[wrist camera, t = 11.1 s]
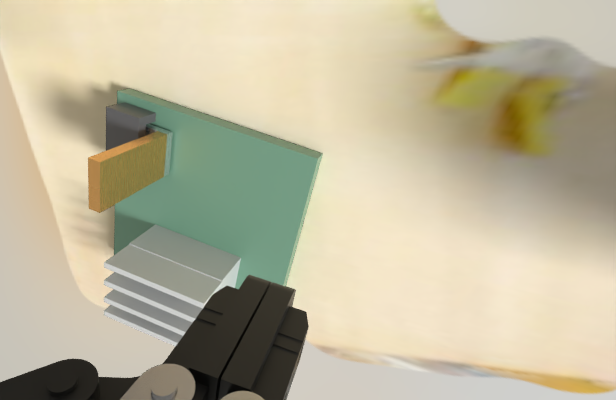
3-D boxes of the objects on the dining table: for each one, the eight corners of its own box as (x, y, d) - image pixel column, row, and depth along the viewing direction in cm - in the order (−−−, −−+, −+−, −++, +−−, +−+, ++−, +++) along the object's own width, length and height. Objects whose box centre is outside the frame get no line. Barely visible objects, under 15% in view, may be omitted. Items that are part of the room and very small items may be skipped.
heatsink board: (322, 153, 43) (290, 190, 33) (277, 315, 54) (243, 379, 44) (129, 88, 46) (49, 104, 36) (123, 253, 57) (60, 299, 47)
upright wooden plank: (172, 132, 44) (99, 162, 34) (169, 173, 46) (99, 212, 37) (126, 115, 45) (42, 140, 35) (124, 157, 47) (45, 191, 38)
